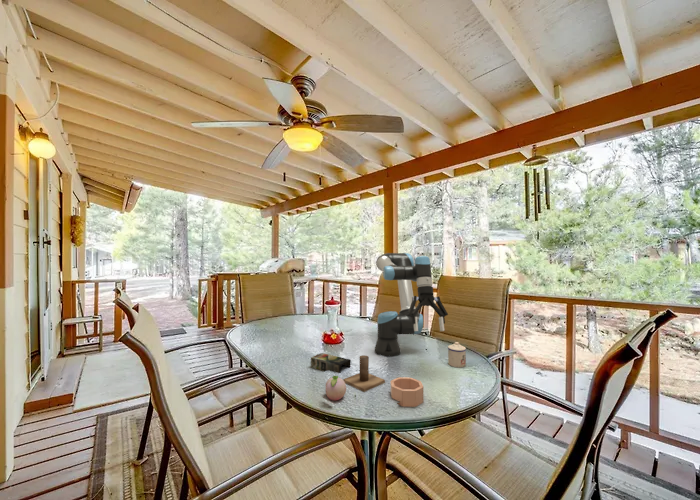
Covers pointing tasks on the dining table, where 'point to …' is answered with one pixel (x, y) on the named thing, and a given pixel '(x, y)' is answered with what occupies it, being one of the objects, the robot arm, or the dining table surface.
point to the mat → (367, 390)
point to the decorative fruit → (335, 388)
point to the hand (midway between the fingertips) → (429, 331)
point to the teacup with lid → (456, 355)
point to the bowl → (407, 391)
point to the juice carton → (329, 362)
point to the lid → (364, 377)
